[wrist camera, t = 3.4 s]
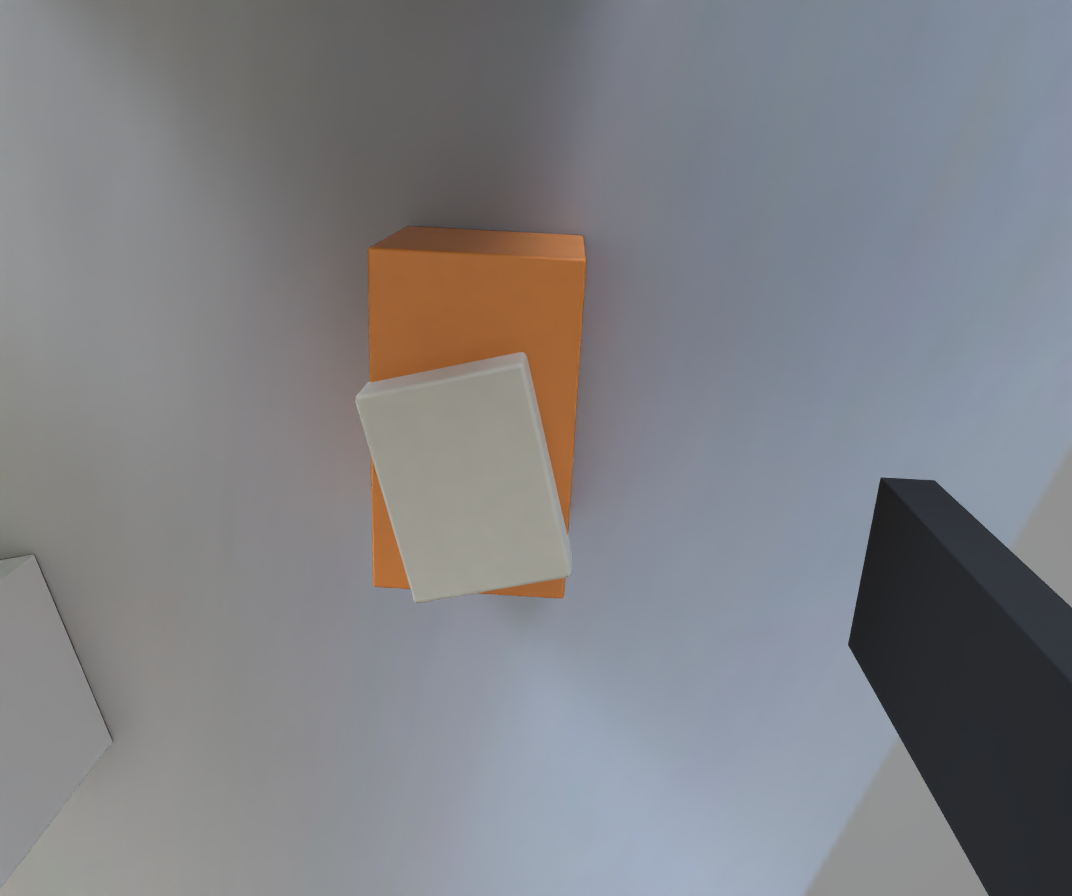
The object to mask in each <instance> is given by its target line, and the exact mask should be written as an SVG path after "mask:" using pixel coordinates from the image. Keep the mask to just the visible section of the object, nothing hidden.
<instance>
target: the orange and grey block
mask: <svg viewBox="0 0 1072 896" xmlns="http://www.w3.org/2000/svg"><path fill="white" fill-rule="evenodd" d="M585 275H586V254H585V245H584V238H583V236H581V235H566V234H547V233H529V232H510V231H491V230H473V229H454V228H436V227H417V226H407V227H405V228H403V229H402V230H400V231H398V232H396V233H394V234H393V235H391V236H389V237H387V238H385V239H384V240H382V241H380V242H378V243H376V244H375V245H373V246H371V247H369V248H368V295H369V357H370V381H369V382H367V383H366V385H365V386H364V387H363V388H362V389H361V391H360V392H359V393H358V394H357V395H356V397H355V403H356V406H357V409H358V413H359V416H360V420H361V423H362V426H363V430H364V433H365V437H366V440H367V443H368V447H369V450H370V453H371V479H372V541H373V584H374V586H375V587H386V588H402V589H411V592H412V596H413V599H414V601H415V602H416V603H423V602H428V601H434V600H440V599H446V598H451V597H457V596H463V595H469V594H474V593H482V594H498V595H514V596H530V597H546V598H563V596H564V588H565V578H566V577H569V576H570V575H571V545H570V541H569V536H568V528H569V513H570V498H571V483H572V468H573V453H574V439H575V424H576V409H577V394H578V379H579V364H580V349H581V334H582V319H583V304H584V289H585Z"/></svg>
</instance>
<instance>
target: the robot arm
mask: <svg viewBox="0 0 1072 896" xmlns="http://www.w3.org/2000/svg"><path fill="white" fill-rule="evenodd" d="M848 645H849V647H850V649H851V651H852V653H853V654H854V656H855V658H856V660H857V661H858V663H859V665H860V667H861V669H862V670H863V672H864V674H865V676H866V678H867V679H868V681H869V683H870V685H871V686H872V688H873V690H874V692H875V694H876V695H877V697H878V699H879V701H880V702H881V704H882V706H883V708H884V710H885V711H886V713H887V715H888V717H889V719H890V720H891V722H892V724H893V726H894V727H895V729H896V731H897V733H898V735H899V736H900V738H901V740H902V742H903V743H904V745H905V747H906V749H907V750H908V752H909V754H910V756H911V758H912V760H913V761H914V763H915V765H916V767H917V768H918V770H919V772H920V773H921V776H922V777H923V779H924V781H925V783H926V784H927V786H928V788H929V790H930V792H931V793H932V795H933V797H934V798H935V801H936V802H937V804H938V806H939V807H940V809H941V811H942V813H943V815H944V817H945V818H946V820H947V822H948V824H949V825H950V827H951V829H952V831H953V833H954V834H955V836H956V838H957V840H958V842H959V843H960V845H961V847H962V849H963V850H964V852H965V854H966V856H967V857H968V859H969V861H970V863H971V865H972V866H973V868H974V870H975V872H976V874H977V875H978V877H979V879H980V881H981V883H982V884H983V886H984V888H985V890H986V891H987V893H988V895H989V896H1072V608H1071V607H1070V606H1069V605H1068V604H1067V603H1066V602H1065V601H1064V600H1063V599H1062V598H1061V597H1060V596H1058V595H1057V594H1056V593H1055V592H1054V591H1053V590H1052V589H1051V588H1050V587H1049V586H1048V585H1047V584H1045V582H1043V581H1042V580H1041V579H1040V578H1039V577H1038V576H1037V575H1036V574H1035V573H1034V572H1033V571H1032V570H1031V569H1029V568H1028V567H1027V566H1026V565H1025V564H1024V563H1023V562H1022V561H1021V560H1020V559H1019V558H1018V557H1017V556H1015V555H1014V554H1013V553H1012V552H1011V551H1010V550H1009V549H1008V548H1007V547H1006V546H1005V545H1004V544H1002V543H1001V542H1000V541H999V540H998V539H997V538H996V537H995V536H994V535H993V534H992V533H991V532H990V531H988V530H987V529H986V528H985V527H984V526H983V525H982V524H981V523H980V522H979V521H978V520H977V519H976V518H974V517H973V516H972V515H971V514H970V513H969V512H968V511H967V510H966V509H965V508H964V507H963V506H961V505H960V504H959V503H958V502H957V501H956V500H955V499H954V498H953V497H952V496H951V495H950V494H949V493H947V492H946V491H945V490H944V489H943V488H942V487H941V486H940V485H939V484H938V483H937V482H936V481H933V480H915V479H897V478H881V479H880V484H879V489H878V494H877V499H876V504H875V509H874V515H873V520H872V525H871V530H870V535H869V540H868V545H867V551H866V556H865V561H864V566H863V571H862V576H861V581H860V587H859V592H858V597H857V602H856V607H855V612H854V617H853V622H852V628H851V633H850V638H849V643H848Z"/></svg>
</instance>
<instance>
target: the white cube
mask: <svg viewBox="0 0 1072 896" xmlns="http://www.w3.org/2000/svg"><path fill="white" fill-rule="evenodd" d="M111 743H112V739H111V737H110V735H109V732H108V730H107V727H106V725H105V723H104V720H103V718H102V716H101V713H100V711H99V708H98V706H97V704H96V701H95V699H94V697H93V694H92V692H91V689H90V687H89V685H88V682H87V680H86V678H85V675H84V673H83V670H82V668H81V666H80V663H79V661H78V658H77V656H76V654H75V651H74V649H73V647H72V644H71V642H70V639H69V637H68V635H67V632H66V630H65V628H64V625H63V623H62V620H61V618H60V616H59V613H58V611H57V608H56V606H55V604H54V601H53V599H52V597H51V594H50V592H49V589H48V587H47V585H46V582H45V580H44V578H43V575H42V573H41V570H40V568H39V566H38V563H37V561H36V558H35V556H34V555H28V556H22V557H16V558H10V559H3V560H0V889H1V888H2V886H3V885H4V884H5V882H6V881H7V880H8V878H9V877H10V876H11V874H12V873H13V872H14V871H15V869H16V868H17V867H18V865H19V864H20V863H21V861H22V860H23V859H24V857H25V856H26V855H27V853H28V852H29V851H30V849H31V848H32V847H33V845H34V844H35V843H36V842H37V840H38V839H39V838H40V836H41V835H42V834H43V832H44V831H45V830H46V828H47V827H48V826H49V824H50V823H51V822H52V820H53V819H54V818H55V816H56V815H57V814H58V813H59V811H60V810H61V809H62V807H63V806H64V805H65V803H66V802H67V801H68V799H69V798H70V797H71V795H72V794H73V793H74V791H75V790H76V789H77V787H78V786H79V785H80V784H81V782H82V781H83V780H84V778H85V777H86V776H87V774H88V773H89V772H90V770H91V769H92V768H93V766H94V765H95V764H96V762H97V761H98V760H99V759H100V757H101V756H102V755H103V753H104V752H105V751H106V749H107V748H108V747H109V745H110V744H111Z"/></svg>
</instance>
